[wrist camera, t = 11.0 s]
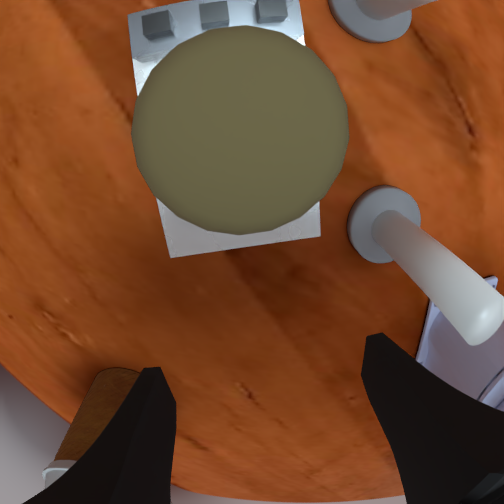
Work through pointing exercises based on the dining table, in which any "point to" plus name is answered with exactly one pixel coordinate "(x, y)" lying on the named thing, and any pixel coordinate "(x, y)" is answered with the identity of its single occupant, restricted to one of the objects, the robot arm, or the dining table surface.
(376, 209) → the post
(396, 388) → the robot arm
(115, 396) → the disposable coffee cup
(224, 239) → the board
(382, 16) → the post
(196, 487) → the dining table surface
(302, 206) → the cork
